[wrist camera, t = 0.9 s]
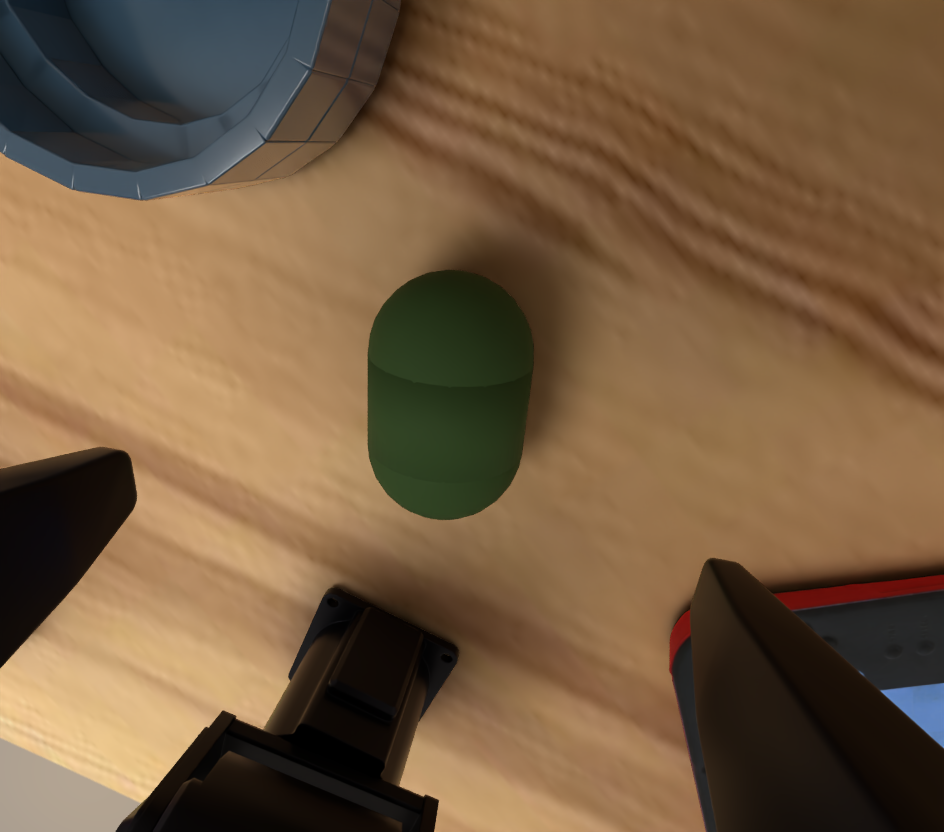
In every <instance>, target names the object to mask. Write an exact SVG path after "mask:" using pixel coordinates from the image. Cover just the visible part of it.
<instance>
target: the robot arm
mask: <svg viewBox="0 0 944 832" xmlns="http://www.w3.org/2000/svg"><path fill="white" fill-rule="evenodd" d="M136 501H137V491H136V485H135V479H134V473H133V467H132V461H131V458H130V456H129V455H128V453H126V452H125V451H123V450H118V449H112V448H107V447H96V448H92V449H88V450H83V451H79V452H74V453H70V454H65V455H61V456H56V457H52V458H47V459H43V460H38V461H34V462H29V463H25V464H20V465H16V466H11V467H7V468H2V469H0V668H1V667H2V666H3V665H4V664H5V663H6V662H7V661H8V659H9V658H10V657H11V656H12V655H13V654H14V653H15V652H16V651H17V650H18V649H19V647H20V646H21V645H22V644H23V643H24V642H25V641H26V640H27V639H28V638H29V636H30V635H31V634H32V633H33V632H34V631H35V630H36V629H37V628H38V627H39V626H40V624H41V623H42V622H43V621H44V620H45V619H46V618H47V617H48V616H49V615H50V613H51V612H52V611H53V610H54V609H55V608H56V607H57V606H58V605H59V604H60V603H61V601H62V600H63V599H64V598H65V597H66V596H67V595H68V594H69V592H70V591H71V590H72V589H73V588H74V587H75V585H76V584H77V583H78V582H79V580H80V579H81V578H82V577H83V575H84V574H85V573H86V572H87V570H88V569H89V568H90V566H91V565H92V564H93V562H94V561H95V560H96V558H97V557H98V556H99V554H100V553H101V552H102V550H103V549H104V548H105V546H106V545H107V544H108V542H109V541H110V540H111V539H112V537H113V536H114V535H115V533H116V532H117V531H118V529H119V528H120V527H121V525H122V524H123V523H124V521H125V520H126V519H127V517H128V516H129V515H130V513H131V512H132V511H133V509H134V507H135V504H136ZM332 598H333V599H336V600H337V601H335V600H333V599H332ZM690 630H691V645H692V660H693V675H694V691H695V705H696V717H697V724H698V731H699V737H700V743H701V748H702V753H703V759H704V764H705V769H706V775H707V780H708V786H709V791H710V796H711V802H712V807H713V813H714V818H715V823H716V829H717V832H944V748H943V747H942V746H941V745H940V744H939V743H937V742H936V741H935V740H934V739H933V738H932V737H931V736H930V735H929V734H927V733H926V732H925V731H924V730H923V729H922V728H921V727H920V726H919V725H917V724H916V723H915V722H914V721H913V720H912V719H911V718H910V717H909V716H908V715H906V714H905V713H904V712H903V711H902V710H901V709H900V708H899V707H898V706H896V705H895V704H894V703H893V702H892V701H891V700H890V699H889V698H888V697H886V696H885V695H884V694H883V693H882V692H881V691H880V690H879V689H878V688H877V687H875V686H874V685H873V684H872V683H871V682H870V681H869V680H868V679H867V678H865V677H864V676H863V675H862V674H861V673H860V672H859V671H858V670H857V669H855V668H854V667H853V666H852V665H851V664H850V663H849V662H848V661H847V660H846V659H844V658H843V657H842V656H841V655H840V654H839V653H838V652H837V651H836V650H834V649H833V648H832V647H831V646H830V645H829V644H828V643H827V642H826V641H824V640H823V639H822V638H821V637H820V636H819V635H818V634H817V633H816V632H815V631H813V630H812V629H811V628H810V627H809V626H808V625H807V624H806V623H805V622H803V621H802V620H801V619H800V618H799V617H798V616H797V615H796V614H795V613H793V612H792V611H791V610H790V609H789V608H788V607H787V606H786V605H785V604H784V603H782V602H781V601H780V600H779V599H778V598H777V597H776V596H775V595H774V594H772V593H771V592H770V591H769V590H768V589H767V588H766V587H765V586H764V585H762V584H761V583H760V582H759V581H758V580H757V579H756V578H755V577H754V576H753V575H751V574H750V573H749V572H748V571H747V570H746V569H745V568H744V567H743V566H741V565H740V564H739V563H737V562H733V561H727V560H721V559H716V558H710V559H708V560H707V561H706V562H705V563H704V565H703V568H702V571H701V574H700V577H699V581H698V584H697V587H696V590H695V593H694V596H693V599H692V603H691V608H690ZM446 654H449V655H450V656H449V655H446ZM458 657H459V649H458V648H457V647H456V646H455V645H453V644H452V643H449V642H447V641H445V640H443V639H441V638H439V637H437V636H435V635H433V634H431V633H429V632H427V631H425V630H423V629H421V628H419V627H417V626H415V625H413V624H411V623H408V622H406V621H404V620H402V619H400V618H398V617H396V616H394V615H392V614H390V613H388V612H386V611H384V610H382V609H380V608H378V607H376V606H374V605H372V604H370V603H368V602H365V601H363V600H361V599H359V598H357V597H355V596H353V595H351V594H349V593H347V592H345V591H343V590H341V589H338V588H330V589H328V590H327V592H326V593H325V595H324V597H323V598H322V601H321V603H320V605H319V607H318V610H317V612H316V614H315V616H314V619H313V621H312V623H311V625H310V627H309V630H308V632H307V634H306V636H305V639H304V641H303V643H302V645H301V648H300V650H299V652H298V654H297V657H296V659H295V661H294V663H293V666H292V668H291V670H290V672H289V676H288V677H289V680H290V683H289V685H288V687H287V688H286V690H285V692H284V694H283V695H282V697H281V699H280V701H279V702H278V704H277V706H276V708H275V710H274V711H273V713H272V715H271V717H270V718H269V720H268V722H267V724H266V726H265V727H264V729H263V730H262V729H260V728H257V727H255V726H252V725H250V724H247V723H245V722H243V721H240V720H238V719H236V716H235V715H233V714H231V713H228V712H226V711H222V712H221V713H220V714H219V716H218V717H217V718H216V719H215V721H214V722H213V723H212V724H211V726H210V727H209V728H208V727H205V728H204V729H203V731H202V732H201V733H200V734H199V735H198V737H197V738H196V739H195V740H194V742H193V743H192V744H191V745H190V747H189V748H188V749H187V750H186V752H185V753H184V754H183V755H182V756H181V758H180V759H179V760H178V761H177V763H176V764H175V765H174V766H173V768H172V769H171V770H170V771H169V772H168V774H167V775H166V776H165V777H164V779H163V780H162V781H161V782H160V783H159V785H158V786H157V787H156V788H155V790H154V791H153V792H152V793H151V795H150V796H149V797H148V798H147V799H146V800H144V801H143V802H142V803H141V804H140V805H139V806H138V807H137V808H136V809H135V810H134V811H133V812H132V813H131V814H130V815H129V816H128V817H126V818H125V819H124V820H123V822H122V823H121V824H120V825H119V827H118V828H117V830H116V832H434V829H435V822H436V816H437V809H438V803H439V800H438V799H435V798H433V797H430V796H428V795H426V794H425V796H424V797H423V796H421V795H418V794H416V793H413V792H411V791H409V790H406V789H404V788H401V787H399V784H400V781H401V778H402V774H403V771H404V768H405V764H406V761H407V758H408V754H409V751H410V748H411V745H412V741H413V738H414V735H415V731H416V728H417V725H418V722H419V721H420V719H421V717H422V716H423V714H424V713H425V711H426V710H427V708H428V707H429V705H430V704H431V702H432V700H433V699H434V697H435V696H436V694H437V693H438V691H439V690H440V688H441V687H442V685H443V683H444V682H445V680H446V679H447V677H448V676H449V674H450V673H451V671H452V670H453V668H454V667H455V665H456V663H457V660H458Z"/></svg>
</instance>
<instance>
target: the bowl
mask: <svg viewBox="0 0 944 832" xmlns="http://www.w3.org/2000/svg"><path fill="white" fill-rule="evenodd" d="M400 8H401V0H0V152H1V153H2V154H4V155H5V156H6V157H7V158H9V159H11V160H13V161H15V162H17V163H19V164H21V165H23V166H25V167H27V168H29V169H31V170H33V171H35V172H37V173H39V174H41V175H43V176H45V177H48V178H50V179H52V180H54V181H56V182H58V183H60V184H62V185H64V186H66V187H68V188H70V189H72V190H77V191H79V192H86V193H93V194H100V195H106V196H113V197H120V198H127V199H133V200H140V201H143V200H145V201H148V200H155V199H163V198H171V197H179V196H186V195H194V194H201V193H209V192H217V191H225V190H232V189H238V188H243V187H247V186H251V185H255V184H260V183H264V182H268V181H273V180H277V179H281V178H285V177H287V176H290V175H292V174H293V173H295V172H296V171H298V170H299V169H300V168H302V167H303V166H305V165H306V164H308V163H309V162H310V161H312V160H313V159H315V158H316V157H318V156H319V155H320V154H322V153H323V152H325V151H326V150H328V149H329V148H330V147H332V146H333V145H335V144H336V141H339V139H340V138H341V136H342V135H343V134H344V132H345V131H346V129H347V128H348V126H349V125H350V124H351V122H352V121H353V119H354V118H355V116H356V115H357V114H358V112H359V111H360V109H361V108H362V106H363V105H364V104H365V102H366V101H367V99H368V98H369V96H370V95H371V94H372V92H373V91H374V89H375V86H376V85H377V82H378V79H379V76H380V73H381V70H382V67H383V64H384V61H385V57H386V54H387V51H388V48H389V45H390V42H391V39H392V36H393V32H394V29H395V26H396V23H397V20H398V17H399V10H400Z"/></svg>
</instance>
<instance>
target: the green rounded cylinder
mask: <svg viewBox="0 0 944 832" xmlns="http://www.w3.org/2000/svg"><path fill="white" fill-rule="evenodd" d="M533 359H534V344H533V339H532V334H531V329H530V327H529V324H528V322H527V319H526V317H525V315H524V313H523V312H522V310H521V309H520V307H519V306H518V304H517V303H516V301H515V300H514V298H512V297H511V296H510V295H509V294H508V293H507V292H506V291H505V290H504V289H503V288H502V287H500V286H499V285H497V284H496V283H494V282H492V281H491V280H489V279H487V278H486V277H483V276H480V275H477V274H474V273H471V272H467V271H461V270H443V271H436V272H430V273H426V274H424V275H421V276H419V277H417V278H414V279H412V280H410V281H408V282H407V283H406V284H404V285H403V286H401V287H400V288H399V289H397V290H396V291H395V292H394V293H393V294H392V296H391V297H390V298H389V299H388V300H387V301H386V302H385V303H384V304H383V306H382V308H381V309H380V311H379V313H378V315H377V316H376V318H375V320H374V324H373V327H372V330H371V333H370V338H369V348H368V451H369V459H370V462H371V465H372V468H373V471H374V473H375V476H376V478H377V480H378V481H379V483H380V484H381V486H382V487H383V489H384V490H385V492H386V493H387V494H388V495H389V496H390V497H391V498H392V499H393V500H394V501H396V502H397V503H398V504H399V505H400V506H402V507H403V508H405V509H407V510H408V511H410V512H413V513H415V514H418V515H420V516H423V517H426V518H431V519H437V520H452V519H459V518H463V517H467V516H470V515H474V514H476V513H478V512H481V511H482V510H484V509H485V508H487V507H488V506H489V505H491V504H492V503H494V502H495V501H497V500H498V498H499V497H500V496H501V495H502V494H503V493H504V492H505V491H506V489H507V488H508V487H509V486H510V484H511V482H512V480H513V478H514V476H515V474H516V472H517V470H518V468H519V464H520V460H521V456H522V450H523V443H524V435H525V427H526V419H527V411H528V404H529V396H530V388H531V380H532V372H533V364H534V362H533Z"/></svg>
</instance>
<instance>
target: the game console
mask: <svg viewBox="0 0 944 832" xmlns="http://www.w3.org/2000/svg"><path fill="white" fill-rule="evenodd" d="M773 594H774V595H775V596H776V597H777V598H778V599H779V600H780V601H781V602H782V603H784V604H785V605H786V606H787V607H788V608H789V609H790V610H791V611H792V612H793V613H795V614H796V615H797V616H798V617H799V618H800V619H801V620H802V621H803V622H805V623H806V624H807V625H808V626H809V627H810V628H811V629H812V630H813V631H815V632H816V633H817V634H818V635H819V636H820V637H821V638H822V639H823V640H824V641H826V642H827V643H828V644H829V645H830V646H831V647H832V648H833V649H834V650H836V651H837V652H838V653H839V654H840V655H841V656H842V657H843V658H844V659H846V660H847V661H848V662H849V663H850V664H851V665H852V666H853V667H854V668H855V669H857V670H858V671H859V672H860V673H861V674H862V675H863V676H864V677H865V678H867V679H868V680H869V681H870V682H871V683H872V684H873V685H874V686H875V687H877V688H878V689H879V690H880V691H881V692H882V693H883V694H884V695H885V696H886V697H888V698H889V699H890V700H891V701H892V702H893V703H894V704H895V705H896V706H898V707H899V708H900V709H901V710H902V711H903V712H904V713H905V714H906V715H908V716H909V717H910V718H911V719H912V720H913V721H914V722H915V723H916V724H917V725H919V726H920V727H921V728H922V729H923V730H924V731H925V732H926V733H927V734H929V735H930V736H931V737H932V738H933V739H934V740H935V741H936V742H937V743H939V744H940V745H941V746H942V747H943V748H944V575H933V576H928V577H921V578H913V579H904V580H895V581H882V582H871V583H866V584H850V585H844V586H838V587H827V588H818V589H809V590H800V591H791V592H782V593H773ZM669 671H670V673H671V675H672V681H673V685H674V689H675V693H676V698H677V702H678V707H679V711H680V716H681V720H682V725H683V729H684V734H685V738H686V743H687V748H688V752H689V757H690V761H691V766H692V770H693V775H694V779H695V784H696V788H697V793H698V798H699V802H700V807H701V811H702V816H703V820H704V825H705V830H706V832H717V829H716V823H715V818H714V813H713V807H712V802H711V796H710V791H709V786H708V780H707V775H706V769H705V764H704V759H703V753H702V748H701V743H700V737H699V731H698V724H697V717H696V705H695V691H694V675H693V660H692V645H691V630H690V610H689V611H687V612H686V613H684V614H683V615H682V617H681V618H680V619H679V620H678V621H677V623H676V624H675V626H674V628H673V630H672V633H671V637H670V665H669Z"/></svg>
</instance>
